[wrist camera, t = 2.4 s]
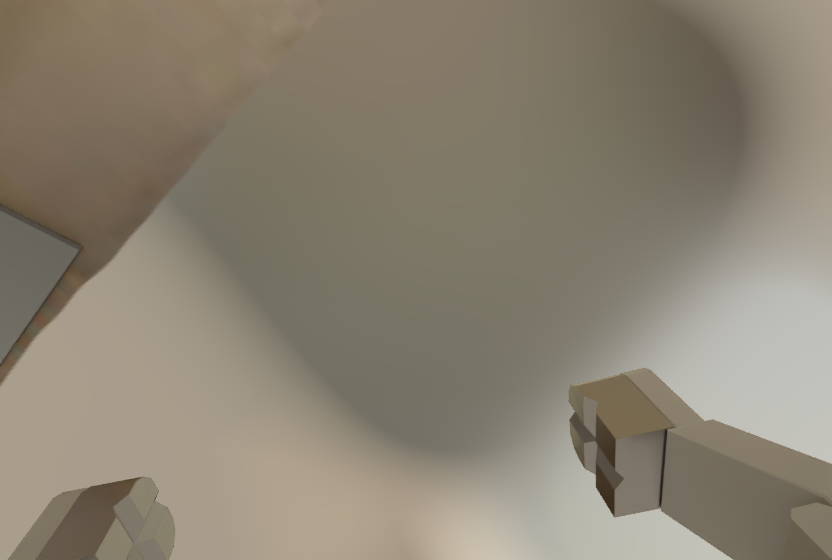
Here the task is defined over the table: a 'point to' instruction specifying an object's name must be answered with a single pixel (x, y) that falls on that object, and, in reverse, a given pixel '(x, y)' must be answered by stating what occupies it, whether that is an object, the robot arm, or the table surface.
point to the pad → (27, 272)
